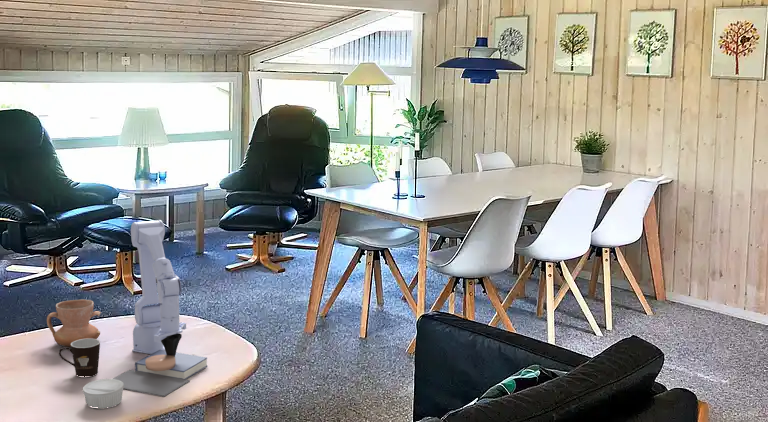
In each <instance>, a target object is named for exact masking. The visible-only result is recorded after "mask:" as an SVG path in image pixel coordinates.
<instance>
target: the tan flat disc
mask: <svg viewBox="0 0 768 422" xmlns="http://www.w3.org/2000/svg"><path fill="white" fill-rule="evenodd" d="M145 362H146V369H148V370H151V371H165V370H169V369H172V368H174V367H175V365H176V362H175V357H174V356H171V355H155V356H151V357H149V358H147V359H146V361H145Z"/></svg>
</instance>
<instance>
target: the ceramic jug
mask: <svg viewBox="0 0 768 422" xmlns="http://www.w3.org/2000/svg"><path fill="white" fill-rule="evenodd" d="M94 304H95V303H94V301H93V300H91V299H72V300H63V301H60V302H58V303H56V304H55V309H56V310H55V311H56V312H55V311H53V312H50V313H49V314H48V315H47V316H46V324H47V327H48V329H49V330H50V332H51V334H52V336H53V339H54V342H56V344H58V345H59V346H61V347H68V348H71V343H72V342H74V341H76V340H80V339H97V340H98V338H99V337H100V335H101V331H100V330H99V329H98V328H97V327H96V326H95V325H92V324H91V323H89V322H90V320H91V319H92V317H94V316H98V317H100V315H101V313H102V312H101V311H99V310H95V311H94V308H95V307H94ZM52 318H56V319H58V320H60V322H61V324H62V326H61V327H60V328H59V329H58V330H56V329H54V326H53V324H52Z"/></svg>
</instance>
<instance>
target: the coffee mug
mask: <svg viewBox="0 0 768 422" xmlns="http://www.w3.org/2000/svg"><path fill="white" fill-rule="evenodd" d="M100 345H101V341H100V339H98V338H97V339H80V340H76V341H74V342H72V343H71V347H66V346H62V348H61V349H59V351H58V355H59V357H60V358H61V359H62V360H63V361H65V362H66V363H67V364H70V365H71V366H73V367H74V370H75V371H74V372H75V376H76V375H78V376H84V377H85V376H92V377H94V376H93V375H95V374H97V373H99V364H100V363H99V361H100V360H99V359H100V351H101V350H100V348H101V347H100ZM63 350H68V351H69V352H70V353H71V355H72V359H73V362H71V361H69V360H68V359H66V358H65V357H64V356H63V355H62V354H61V353H62V351H63ZM97 375H98V374H97ZM95 376H96V375H95Z"/></svg>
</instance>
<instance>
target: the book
mask: <svg viewBox="0 0 768 422" xmlns="http://www.w3.org/2000/svg"><path fill="white" fill-rule="evenodd" d="M155 355H167V354H166V351H165V350H158V351H156V352H154V353H152V354H148V355H146V356H145V357H143V358H141V359H139V360H137V361H135V362H134V370H135V371H141V372H147V373H152V374H158V375H163V376H169V377H175V378H180V379H186V380H188V379H189V378H191V377H192V376H194V375H196V374H198V373H199V372H200V371H202V370H204V369H206V368H207V367H208V361H207V360H208V357H206V356H200V355H194V354H188V353H182V352H177V351H176V355H175V362H176V365H175V367H174V368H172V369H169V370H165V371H151V370H148V369H146V362H145V361H146V359H147V358H149V357H151V356H155Z"/></svg>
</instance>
